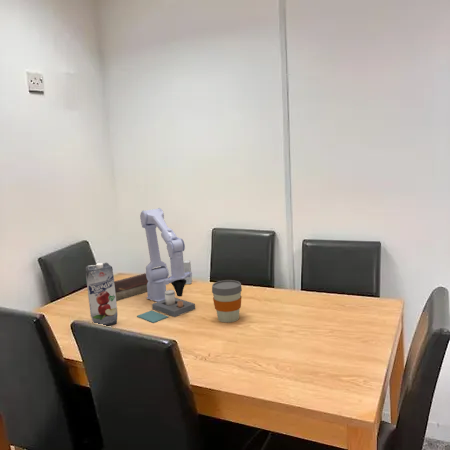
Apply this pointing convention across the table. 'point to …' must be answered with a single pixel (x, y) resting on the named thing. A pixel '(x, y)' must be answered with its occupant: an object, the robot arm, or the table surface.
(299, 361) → the table surface
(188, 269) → the skincare box
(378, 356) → the table surface
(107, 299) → the juice carton
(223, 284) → the reusable coffee cup
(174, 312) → the grey board with holes
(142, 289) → the hardback book
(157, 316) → the mat
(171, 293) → the filter cartridge
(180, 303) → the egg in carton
